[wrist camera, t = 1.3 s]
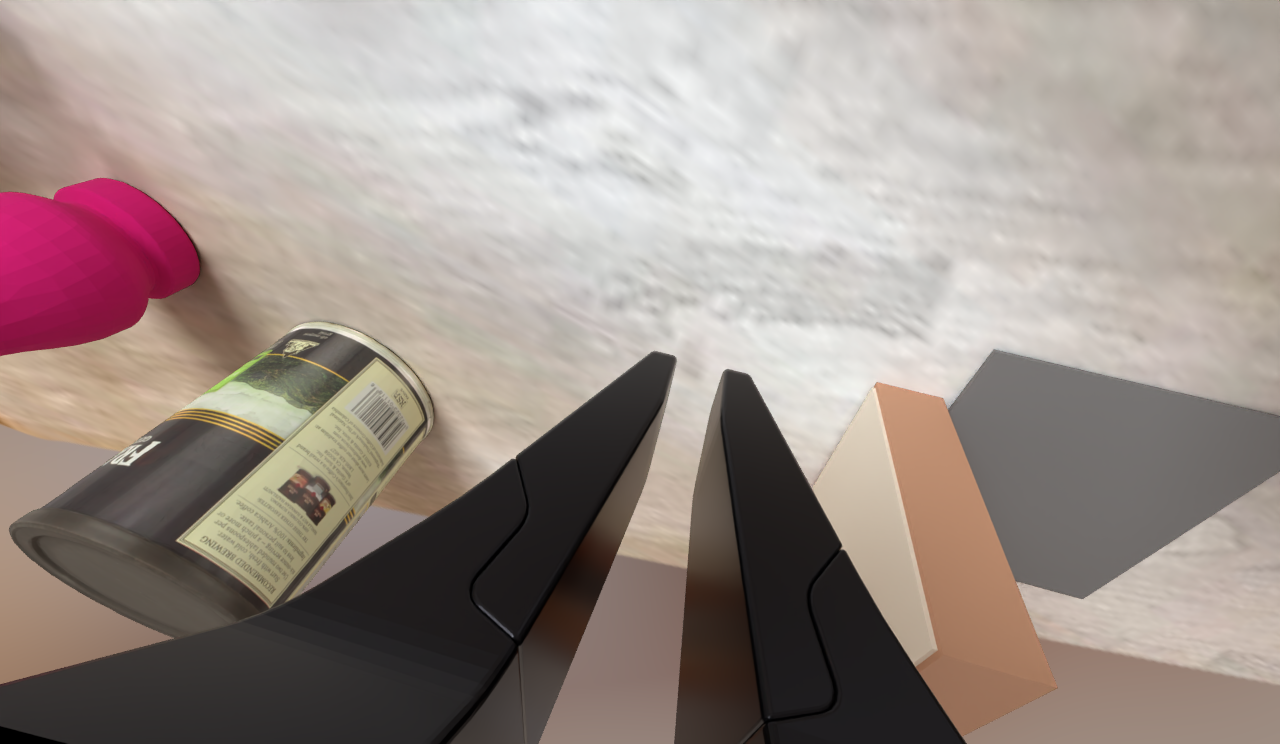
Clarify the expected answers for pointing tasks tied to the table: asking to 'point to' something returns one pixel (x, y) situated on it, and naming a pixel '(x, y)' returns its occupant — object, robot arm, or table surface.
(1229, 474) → the placemat
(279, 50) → the table surface
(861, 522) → the beige rectangular block
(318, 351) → the coffee can
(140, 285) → the pepper mill
